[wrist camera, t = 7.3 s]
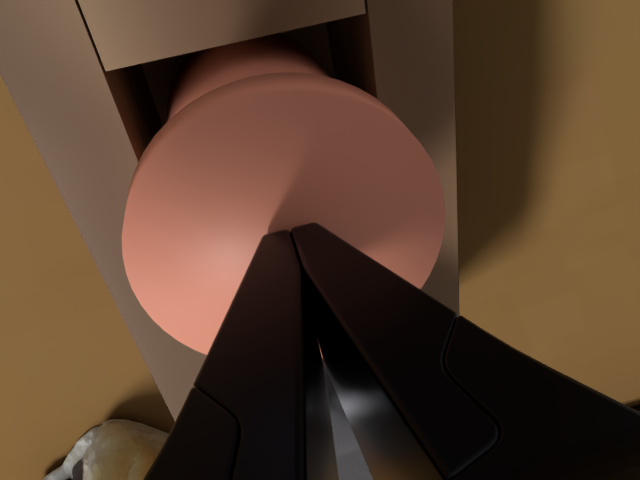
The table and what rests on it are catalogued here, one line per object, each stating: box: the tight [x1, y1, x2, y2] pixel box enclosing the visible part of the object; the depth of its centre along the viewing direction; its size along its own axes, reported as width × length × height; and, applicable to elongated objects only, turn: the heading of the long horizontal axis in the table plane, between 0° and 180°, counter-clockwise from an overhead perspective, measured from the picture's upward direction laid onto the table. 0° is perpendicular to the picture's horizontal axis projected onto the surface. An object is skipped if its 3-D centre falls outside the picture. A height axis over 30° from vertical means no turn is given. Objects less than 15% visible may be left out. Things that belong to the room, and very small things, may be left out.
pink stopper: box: [122, 33, 446, 358], centre depth 11 cm, size 5×5×6 cm
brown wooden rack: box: [0, 0, 459, 421], centre depth 13 cm, size 9×21×5 cm, turn 9°
